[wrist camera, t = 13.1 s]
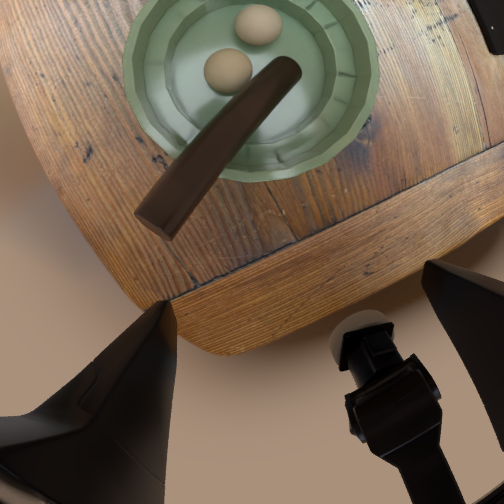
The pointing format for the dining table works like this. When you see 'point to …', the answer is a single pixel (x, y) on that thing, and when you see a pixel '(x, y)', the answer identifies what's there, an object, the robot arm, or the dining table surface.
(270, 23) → the bead
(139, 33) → the bowl
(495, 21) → the cell phone
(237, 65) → the bead
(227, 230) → the dining table surface
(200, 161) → the stick
